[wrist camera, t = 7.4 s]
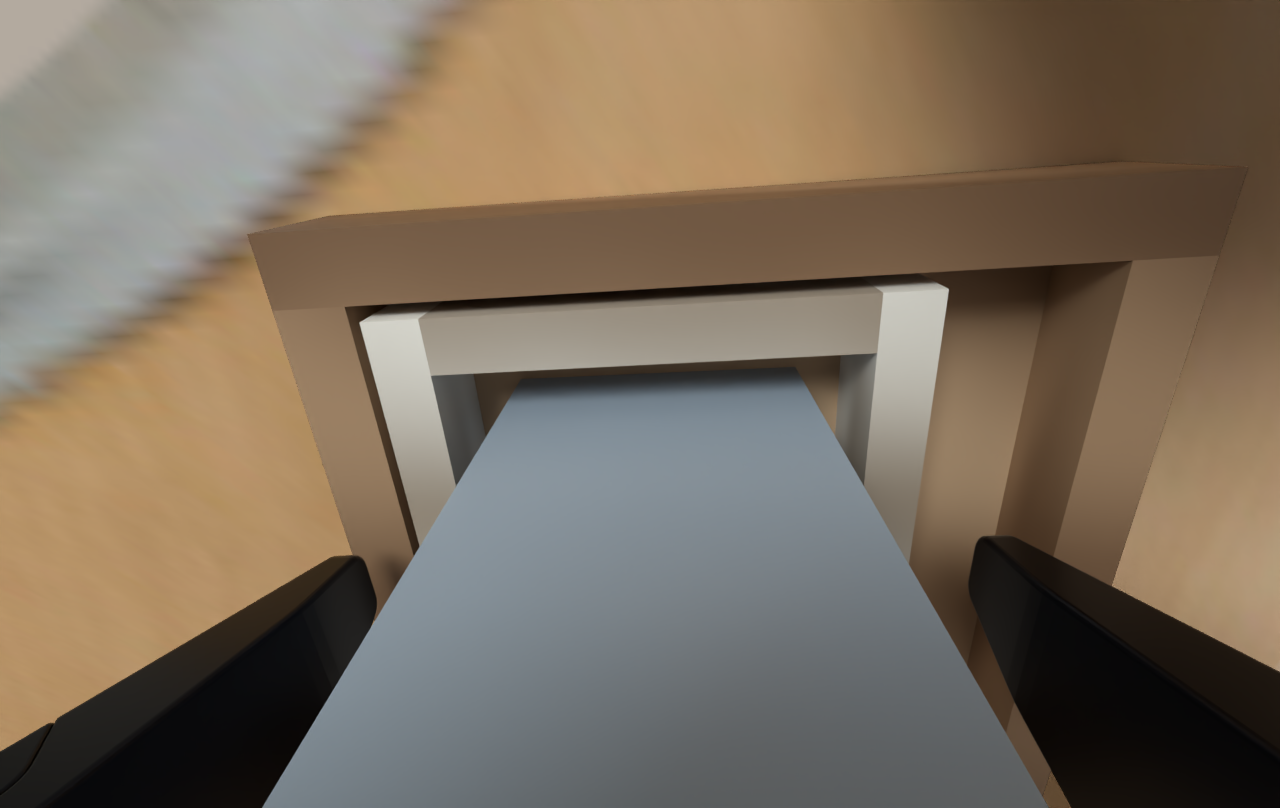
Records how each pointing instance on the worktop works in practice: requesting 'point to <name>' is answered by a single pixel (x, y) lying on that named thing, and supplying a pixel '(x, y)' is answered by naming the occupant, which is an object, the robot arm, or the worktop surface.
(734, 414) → the block
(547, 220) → the walnut box
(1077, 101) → the worktop surface
